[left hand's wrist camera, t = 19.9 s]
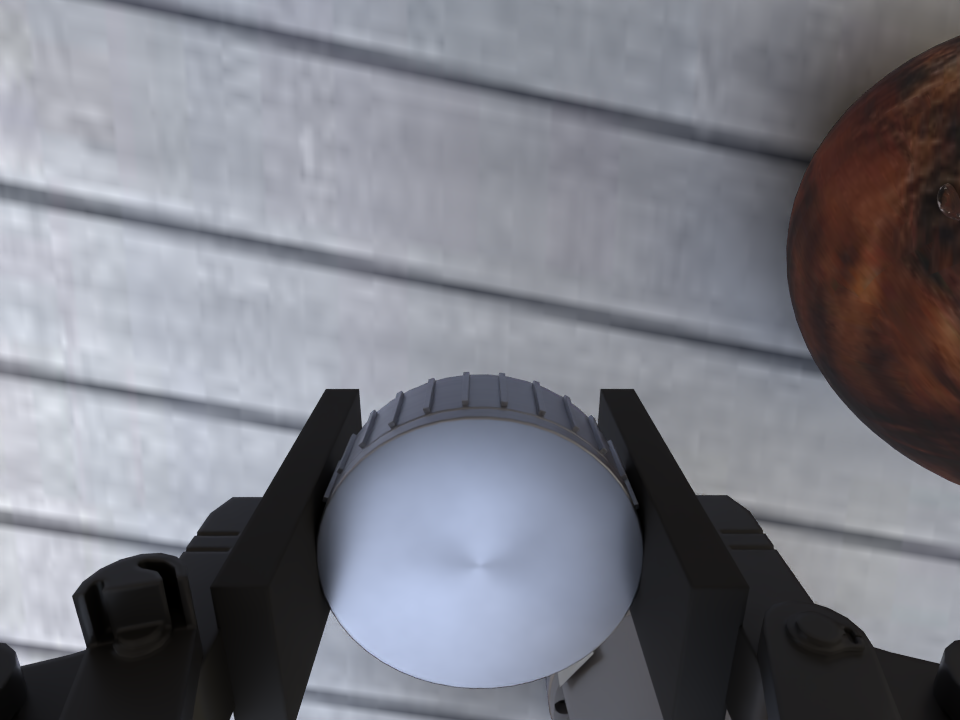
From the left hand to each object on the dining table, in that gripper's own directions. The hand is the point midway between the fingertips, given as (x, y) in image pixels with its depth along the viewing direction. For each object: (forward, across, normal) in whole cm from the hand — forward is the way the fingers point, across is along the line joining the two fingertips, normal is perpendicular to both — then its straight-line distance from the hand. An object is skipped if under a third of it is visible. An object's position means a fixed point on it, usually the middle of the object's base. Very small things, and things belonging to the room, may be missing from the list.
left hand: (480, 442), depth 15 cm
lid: (-4, 0, 0) cm, 4 cm away
